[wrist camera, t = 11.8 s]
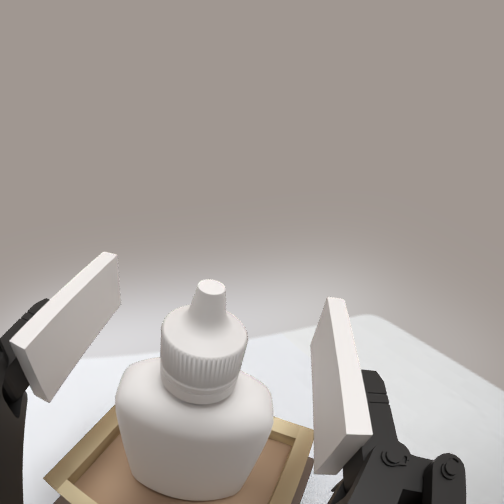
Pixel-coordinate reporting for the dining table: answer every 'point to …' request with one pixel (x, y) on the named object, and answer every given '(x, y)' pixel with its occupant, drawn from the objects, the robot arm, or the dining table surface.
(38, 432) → the dining table surface
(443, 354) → the dining table surface
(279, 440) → the display pedestal
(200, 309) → the eye dropper bottle
